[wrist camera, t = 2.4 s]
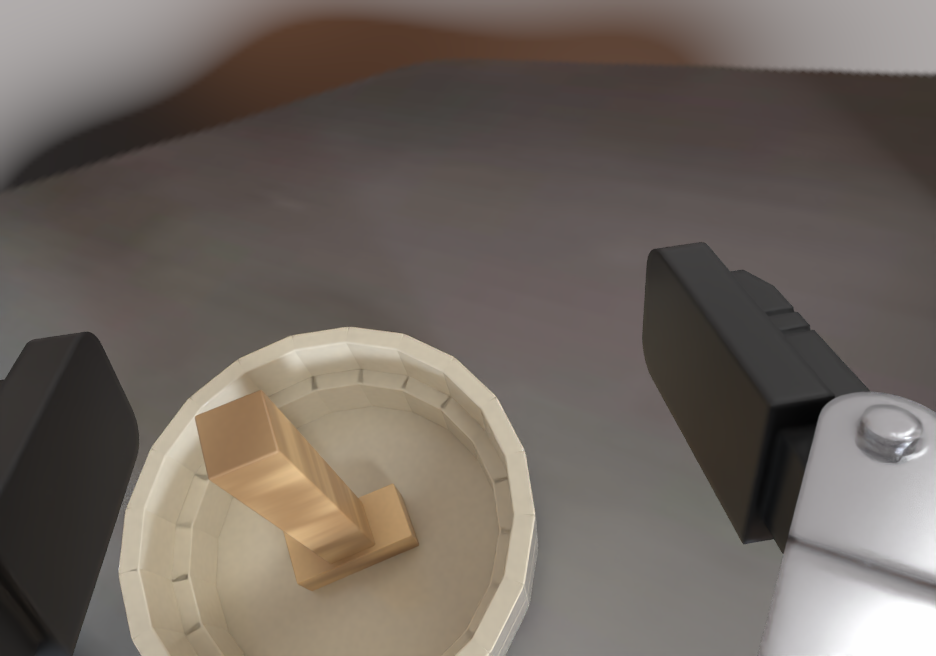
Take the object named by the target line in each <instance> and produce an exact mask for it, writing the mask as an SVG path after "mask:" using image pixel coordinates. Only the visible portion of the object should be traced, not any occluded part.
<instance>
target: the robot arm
mask: <svg viewBox="0 0 936 656" xmlns="http://www.w3.org/2000/svg"><path fill="white" fill-rule="evenodd" d="M642 340H643V351H644V356H645V361H646V364H647V368H648V370H649V373H650V375H651V377H652V379H653V381H654V383H655V384H656V386H657V388H658V390H659V392H660V394H661V395H662V397H663V399H664V401H665V403H666V405H667V406H668V408H669V410H670V412H671V414H672V415H673V417H674V419H675V421H676V423H677V425H678V426H679V428H680V430H681V432H682V434H683V436H684V437H685V439H686V441H687V443H688V445H689V447H690V448H691V450H692V452H693V454H694V456H695V457H696V459H697V461H698V463H699V465H700V467H701V468H702V470H703V472H704V474H705V476H706V478H707V479H708V481H709V483H710V485H711V487H712V488H713V490H714V492H715V494H716V496H717V498H718V499H719V501H720V503H721V505H722V507H723V509H724V510H725V512H726V514H727V516H728V518H729V520H730V521H731V523H732V525H733V527H734V529H735V530H736V532H737V534H738V536H739V538H740V540H741V541H742V543H743V544H748V543H754V542H759V541H765V540H771V539H774V540H775V541H776V543H777V545H778V547H779V548H780V550H781V552H782V553H783V558H782V562H781V566H780V570H779V574H778V578H777V582H776V585H775V589H774V593H773V597H772V601H771V605H770V609H769V613H768V617H767V620H766V624H765V628H764V632H763V636H762V640H761V644H760V648H759V652H758V655H757V656H936V413H935V412H933V411H932V410H930V409H929V408H927V407H925V406H923V405H921V404H919V403H917V402H914V401H911V400H909V399H906V398H903V397H899V396H896V395H891V394H886V393H879V392H870V391H869V389H868V388H867V387H866V386H865V385H864V384H863V383H862V382H861V381H860V380H859V379H858V377H857V376H856V375H855V374H854V373H853V372H852V371H851V370H850V369H849V368H848V367H847V365H846V364H845V363H844V362H843V361H842V360H841V359H840V358H839V357H838V356H837V355H836V353H835V352H834V351H833V350H832V349H831V348H830V347H829V346H828V345H827V344H826V342H825V341H824V340H823V339H822V338H821V337H820V336H819V335H818V334H817V333H816V332H815V330H810V325H809V324H808V323H807V322H806V321H805V320H804V318H803V317H802V316H801V315H800V314H799V313H798V312H794V309H793V306H792V305H791V304H790V303H789V302H788V301H787V300H786V299H785V298H784V297H783V295H782V294H781V293H780V292H779V291H778V290H777V289H776V288H775V287H774V286H773V285H771V284H769V283H767V282H765V281H763V280H762V279H760V278H758V277H756V276H754V275H752V274H750V273H749V272H747V271H745V270H737V271H731V272H730V271H729V270H728V268H727V267H726V266H725V265H724V264H723V263H722V261H721V260H720V259H719V258H718V257H717V255H716V254H715V253H714V252H713V251H712V250H711V248H710V247H709V246H708V245H707V244H706V243H704V242H698V243H692V244H685V245H678V246H671V247H665V248H658V249H653V250H652V251H651V252H650V253H649V256H648V260H647V269H646V285H645V301H644V317H643V333H642ZM138 449H139V433H138V426H137V421H136V418H135V415H134V412H133V410H132V408H131V406H130V404H129V401H128V399H127V397H126V395H125V393H124V391H123V389H122V387H121V385H120V382H119V380H118V378H117V376H116V374H115V372H114V370H113V368H112V366H111V363H110V361H109V359H108V357H107V355H106V353H105V351H104V349H103V346H102V345H101V343H100V341H99V340H98V338H97V337H96V336H95V335H94V334H92V333H90V332H81V333H74V334H68V335H61V336H54V337H47V338H41V339H34V340H31V341H29V342H28V343H27V344H26V346H25V347H24V349H23V350H22V352H21V354H20V355H19V357H18V359H17V360H16V362H15V363H14V365H13V367H12V368H11V370H10V372H9V373H8V375H7V377H6V378H5V380H0V656H72V655H73V652H74V649H75V646H76V643H77V640H78V637H79V634H80V631H81V628H82V625H83V621H84V618H85V615H86V612H87V609H88V606H89V603H90V600H91V597H92V594H93V591H94V588H95V584H96V581H97V578H98V575H99V572H100V569H101V566H102V563H103V560H104V557H105V554H106V551H107V547H108V544H109V541H110V538H111V535H112V532H113V529H114V526H115V523H116V520H117V517H118V514H119V510H120V507H121V504H122V501H123V498H124V495H125V492H126V489H127V486H128V483H129V480H130V477H131V473H132V470H133V467H134V464H135V461H136V458H137V454H138Z"/></svg>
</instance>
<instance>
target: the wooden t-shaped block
mask: <svg viewBox="0 0 936 656" xmlns="http://www.w3.org/2000/svg"><path fill="white" fill-rule="evenodd" d="M195 422H196V427H197V431H198V436H199V440H200V445H201V449H202V454H203V458H204V463H205V467H206V472H207V476H208V479H209V480H210V481H211V482H213V483H214V484H215V485H217V486H218V487H220V488H221V489H223V490H224V491H226V492H227V493H229V494H230V495H231V496H233V497H234V498H236V499H237V500H239V501H240V502H242V503H243V504H244V505H246V506H247V507H249V508H250V509H252V510H253V511H255V512H256V513H258V514H259V515H260V516H262V517H263V518H265V519H266V520H268V521H269V522H271V523H272V524H273V525H275V526H276V527H278V528H279V529H281V530H282V531H283V533H284V536H285V540H286V544H287V548H288V552H289V555H290V559H291V563H292V567H293V570H294V574H295V578H296V582H297V584H298V585H300V586H302V587H304V588H306V589H308V590H310V591H314V590H316V589H319V588H321V587H323V586H326V585H328V584H330V583H333V582H335V581H337V580H340V579H342V578H344V577H347V576H349V575H351V574H354V573H356V572H358V571H361V570H363V569H365V568H368V567H370V566H372V565H375V564H377V563H379V562H382V561H384V560H386V559H389V558H391V557H393V556H396V555H398V554H401V553H403V552H405V551H408V550H410V549H412V548H415V547H417V546H419V542H418V539H417V536H416V533H415V530H414V528H413V525H412V522H411V519H410V516H409V514H408V511H407V508H406V505H405V502H404V500H403V497H402V495H401V494H400V492H399V491H398V489H397V488H396V486H395V485H394V484H390V485H388V486H385V487H383V488H381V489H378V490H376V491H373V492H371V493H369V494H366V495H364V496H361V497H359V498H358V497H357V496H356V495H355V494H354V493H353V492H352V490H351V489H350V488H349V487H348V486H347V485H346V484H345V483H344V481H343V480H342V479H341V478H340V477H339V476H338V475H337V474H336V472H335V471H334V470H333V469H332V468H331V467H330V466H329V465H328V464H327V462H326V461H325V460H324V459H323V458H322V457H321V456H320V455H319V453H318V452H317V451H316V450H315V449H314V448H313V447H312V446H311V444H310V443H309V442H308V441H307V440H306V439H305V438H304V437H303V436H302V434H301V433H300V432H299V431H298V430H297V429H296V428H295V427H294V425H293V424H292V423H291V422H290V421H289V420H288V419H287V418H286V417H285V415H284V414H283V413H282V412H281V411H280V410H279V409H278V408H277V406H276V405H275V404H274V403H273V402H272V401H271V400H270V399H269V397H268V396H267V395H266V394H265V393H264V392H263V391H262V390H259V391H256V392H254V393H251V394H249V395H246V396H244V397H241V398H239V399H236V400H234V401H231V402H229V403H226V404H224V405H221V406H219V407H216V408H214V409H211V410H209V411H206V412H204V413H201V414H199V415H196V416H195Z"/></svg>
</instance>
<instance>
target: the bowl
mask: <svg viewBox="0 0 936 656" xmlns="http://www.w3.org/2000/svg"><path fill="white" fill-rule="evenodd" d="M259 390H262V391H263V392H264V393H265V394H266V395H267V396H268V397H269V399H270V400H271V401H272V402H273V403H274V404H275V405H276V406H277V408H278V409H279V410H280V411H281V412H282V413H283V414H284V415H285V417H286V418H287V419H288V420H289V421H290V422H291V423H292V424H293V425H294V427H295V428H296V429H297V430H298V431H299V432H300V433H301V434H302V436H303V437H304V438H305V439H306V440H307V441H308V442H309V443H310V444H311V446H312V447H313V448H314V449H315V450H316V451H317V452H318V453H319V455H320V456H321V457H322V458H323V459H324V460H325V461H326V462H327V464H328V465H329V466H330V467H331V468H332V469H333V470H334V471H335V472H336V474H337V475H338V476H339V477H340V478H341V479H342V480H343V481H344V483H345V484H346V485H347V486H348V487H349V488H350V489H351V490H352V492H353V493H354V494H355V495H356V496H357V497H358V498H359V497H361V496H364V495H366V494H369V493H371V492H373V491H376V490H378V489H381V488H383V487H385V486H388V485H390V484H394V485H395V486H396V488H397V489H398V491H399V492H400V494H401V495H402V497H403V500H404V502H405V505H406V508H407V511H408V514H409V516H410V519H411V522H412V525H413V528H414V530H415V533H416V536H417V539H418V542H419V546H417V547H415V548H412V549H410V550H408V551H405V552H403V553H401V554H398V555H396V556H393V557H391V558H389V559H386V560H384V561H382V562H379V563H377V564H375V565H372V566H370V567H368V568H365V569H363V570H361V571H358V572H356V573H354V574H351V575H349V576H347V577H344V578H342V579H340V580H337V581H335V582H333V583H330V584H328V585H326V586H323V587H321V588H319V589H316V590H314V591H310V590H308V589H306V588H304V587H302V586H300V585H298V584H297V582H296V578H295V574H294V570H293V567H292V563H291V559H290V555H289V552H288V548H287V544H286V540H285V536H284V533H283V531H282V530H281V529H279V528H278V527H276V526H275V525H273V524H272V523H271V522H269V521H268V520H266V519H265V518H263V517H262V516H260V515H259V514H258V513H256V512H255V511H253V510H252V509H250V508H249V507H247V506H246V505H244V504H243V503H242V502H240V501H239V500H237V499H236V498H234V497H233V496H231V495H230V494H229V493H227V492H226V491H224V490H223V489H221V488H220V487H218V486H217V485H215V484H214V483H213V482H211V481H210V480H209V479H208V476H207V472H206V467H205V463H204V458H203V454H202V449H201V445H200V440H199V436H198V431H197V427H196V422H195V416H196V415H199V414H201V413H204V412H206V411H209V410H211V409H214V408H216V407H219V406H221V405H224V404H226V403H229V402H231V401H234V400H236V399H239V398H241V397H244V396H246V395H249V394H251V393H254V392H256V391H259ZM537 553H538V536H537V526H536V516H535V509H534V503H533V496H532V490H531V484H530V478H529V471H528V465H527V459H526V453H525V452H524V448H523V446H522V444H521V442H520V440H519V438H518V436H517V434H516V432H515V431H514V429H513V427H512V425H511V423H510V421H509V419H508V417H507V415H506V413H505V412H504V410H503V408H502V406H501V404H500V402H499V400H498V399H497V398H496V396H495V395H494V394H493V393H492V392H491V391H490V390H489V389H488V388H487V387H486V386H485V385H484V384H483V383H482V382H480V381H479V380H478V379H477V378H476V377H475V376H474V375H473V374H472V373H471V372H470V371H469V370H468V369H467V368H466V367H465V366H464V365H463V364H461V363H460V362H459V361H458V360H457V359H456V358H454V357H453V356H451V355H449V354H447V353H444V352H442V351H440V350H438V349H436V348H434V347H432V346H429V345H427V344H425V343H423V342H421V341H419V340H417V339H414V338H412V337H410V336H408V335H406V334H402V333H394V332H387V331H379V330H372V329H364V328H356V327H349V328H348V327H342V328H336V329H329V330H323V331H316V332H310V333H303V334H297V335H293V336H288V337H286V338H284V339H282V340H279V341H277V342H275V343H273V344H270V345H268V346H266V347H264V348H261V349H259V350H257V351H255V352H253V353H250V354H248V355H246V356H244V357H241V358H239V359H238V361H235V362H234V363H232V364H231V365H230V366H229V367H227V368H226V369H225V370H223V371H222V372H221V373H220V374H218V375H217V376H216V377H215V378H213V379H212V380H211V381H210V382H208V383H207V384H206V385H205V386H203V387H202V388H201V389H200V390H198V391H197V392H196V393H195V394H193V395H192V396H191V397H190V398H188V399H187V401H186V402H185V403H184V405H183V406H182V407H181V409H180V410H179V411H178V413H177V414H176V415H175V417H174V418H173V419H172V421H171V422H170V423H169V425H168V426H167V427H166V428H165V430H164V431H163V432H162V434H161V435H160V436H159V438H158V439H157V440H156V442H155V443H154V444H153V446H152V447H151V450H150V451H149V454H148V456H147V459H146V461H145V464H144V466H143V468H142V471H141V473H140V476H139V478H138V481H137V483H136V486H135V488H134V490H133V493H132V495H131V498H130V500H129V503H128V505H127V509H126V510H125V518H124V527H123V536H122V546H121V555H120V564H119V580H120V585H121V590H122V595H123V600H124V605H125V610H126V615H127V619H128V624H129V629H130V634H131V639H132V640H133V643H134V644H135V646H136V648H137V649H138V651H139V653H140V654H141V656H505V655H506V653H507V651H508V649H509V647H510V645H511V643H512V641H513V639H514V637H515V634H516V632H517V630H518V628H519V626H520V624H521V622H522V620H523V618H524V616H525V614H526V612H527V610H528V607H529V606H528V605H529V604H530V599H531V592H532V586H533V579H534V573H535V566H536V559H537Z"/></svg>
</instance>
